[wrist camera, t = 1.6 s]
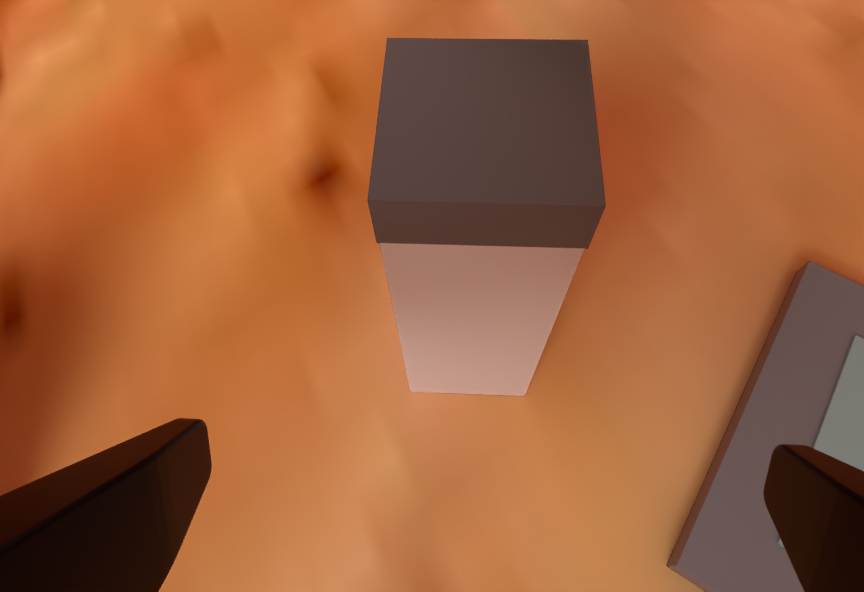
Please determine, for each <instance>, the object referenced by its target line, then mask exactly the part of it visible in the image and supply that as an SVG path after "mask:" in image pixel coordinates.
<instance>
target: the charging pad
mask: <svg viewBox="0 0 864 592" xmlns="http://www.w3.org/2000/svg"><path fill="white" fill-rule="evenodd" d="M780 444H796V445H806V446H809V447H812V448H814V449H816V450H818V451H820V452H823V453H825V454H827V455H829V456H831V457H834V458H836V459H838V460H840V461H842V462H845V463H847V464H849V465H851V466H853V467H855V468H858V469H860V470H862V471H864V286H863V285H861V284H858V283H856V282H854V281H852V280H850V279H848V278H846V277H843V276H841V275H839V274H837V273H835V272H833V271H830V270H828V269H826V268H824V267H822V266H820V265H818V264H815V263H813V262H811V261H809V262H807V263H806V264H805V265H804V266H803V267H802V268H801V269H800V270H798V271H797V272H796V275H795V277H794V279H793V281H792V284H791V286H790V288H789V290H788V293H787V295H786V297H785V299H784V302H783V304H782V306H781V309H780V311H779V313H778V315H777V318H776V320H775V322H774V324H773V327H772V329H771V331H770V333H769V336H768V338H767V340H766V342H765V345H764V347H763V349H762V351H761V354H760V356H759V358H758V360H757V363H756V365H755V367H754V370H753V372H752V374H751V376H750V379H749V381H748V383H747V385H746V388H745V390H744V392H743V394H742V397H741V399H740V401H739V403H738V406H737V408H736V410H735V412H734V415H733V417H732V419H731V422H730V424H729V426H728V428H727V431H726V433H725V435H724V437H723V440H722V442H721V444H720V446H719V449H718V451H717V453H716V455H715V458H714V460H713V462H712V464H711V467H710V469H709V471H708V474H707V476H706V478H705V480H704V483H703V485H702V487H701V489H700V492H699V494H698V496H697V498H696V501H695V503H694V505H693V507H692V510H691V512H690V514H689V516H688V519H687V521H686V523H685V526H684V528H683V530H682V532H681V535H680V537H679V539H678V541H677V544H676V546H675V548H674V550H673V553H672V555H671V557H670V559H669V562H668V564H667V567H669V568H670V569H672V570H674V571H675V572H677V573H678V574H680V575H681V576H683V577H684V578H686V579H687V580H689V581H690V582H692V583H693V584H695V585H697V586H698V587H700V588H701V589H703V590H704V591H706V592H804V590H803V588H802V586H801V584H800V582H799V580H798V577H797V575H796V573H795V571H794V568H793V566H792V564H791V562H790V559H789V557H788V555H787V553H786V550H785V548H784V546H783V544H782V541H781V539H780V537H779V535H778V532H777V530H776V528H775V526H774V523H773V521H772V519H771V517H770V514H769V512H768V510H767V507H766V505H765V501H764V495H763V490H764V485H765V480H766V476H767V472H768V468H769V464H770V459H771V455H772V452H773V450H774V448H775V447H776V446H778V445H780Z"/></svg>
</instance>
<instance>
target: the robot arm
mask: <svg viewBox="0 0 864 592" xmlns="http://www.w3.org/2000/svg"><path fill="white" fill-rule="evenodd" d="M211 465H212V464H211V455H210V447H209V439H208V431H207V426H206V424H205V422H204V421H203V420H201V419H187V418H179V419H175V420H173V421H171V422H168V423H166V424H164V425H161V426H159V427H157V428H155V429H152V430H150V431H148V432H145V433H143V434H141V435H139V436H136V437H134V438H132V439H129V440H127V441H125V442H122V443H120V444H118V445H116V446H113V447H111V448H109V449H106V450H104V451H102V452H100V453H97V454H95V455H93V456H90V457H88V458H86V459H84V460H81V461H79V462H77V463H74V464H72V465H70V466H67V467H65V468H63V469H61V470H58V471H56V472H54V473H51V474H49V475H47V476H45V477H42V478H40V479H38V480H35V481H33V482H31V483H29V484H26V485H24V486H22V487H19V488H17V489H15V490H13V491H10V492H8V493H6V494H3V495H1V496H0V592H158V591H159V589H160V588H161V586H162V584H163V582H164V580H165V578H166V577H167V575H168V573H169V571H170V569H171V567H172V565H173V563H174V561H175V559H176V556H177V554H178V552H179V550H180V547H181V545H182V543H183V540H184V538H185V536H186V533H187V531H188V528H189V526H190V524H191V521H192V519H193V516H194V514H195V512H196V509H197V507H198V504H199V502H200V500H201V497H202V495H203V492H204V490H205V488H206V485H207V483H208V480H209V478H210V474H211ZM763 495H764V501H765V505H766V507H767V510H768V512H769V514H770V517H771V519H772V521H773V523H774V526H775V528H776V530H777V532H778V535H779V537H780V539H781V541H782V544H783V546H784V548H785V550H786V553H787V555H788V557H789V559H790V562H791V564H792V566H793V568H794V571H795V573H796V575H797V577H798V580H799V582H800V584H801V586H802V588H803V590H804V592H864V471H862V470H860V469H858V468H855V467H853V466H851V465H849V464H847V463H845V462H842V461H840V460H838V459H836V458H834V457H831V456H829V455H827V454H825V453H823V452H820V451H818V450H816V449H814V448H812V447H809V446H806V445H796V444H780V445H778V446H776V447H775V448H774V450H773V452H772V455H771V459H770V464H769V468H768V472H767V476H766V480H765V485H764V490H763Z"/></svg>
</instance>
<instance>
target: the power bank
mask: <svg viewBox="0 0 864 592" xmlns="http://www.w3.org/2000/svg"><path fill="white" fill-rule="evenodd" d="M368 205H369V209H370V214H371V219H372V223H373V228H374V232H375V237H376V242H377V243H380V247H381V252H382V257H383V262H384V267H385V271H386V276H387V281H388V286H389V291H390V295H391V300H392V305H393V310H394V315H395V319H396V324H397V329H398V334H399V339H400V343H401V348H402V353H403V358H404V363H405V367H406V372H407V377H408V382H409V387H410V391H411V392H435V393H461V394H487V395H512V396H525V394H526V392H527V389H528V387H529V384H530V382H531V379H532V377H533V374H534V372H535V369H536V367H537V365H538V362H539V360H540V357H541V355H542V352H543V350H544V347H545V345H546V342H547V340H548V337H549V335H550V333H551V330H552V328H553V325H554V323H555V320H556V318H557V315H558V313H559V310H560V308H561V305H562V303H563V301H564V298H565V296H566V293H567V291H568V288H569V286H570V283H571V281H572V278H573V276H574V274H575V271H576V269H577V266H578V264H579V261H580V259H581V256H582V254H583V251H584V249H585V248H587V249H588V247H589V245H590V242H591V240H592V238H593V235H594V233H595V230H596V228H597V226H598V223H599V221H600V218H601V216H602V214H603V211H604V209H605V206H606V204H605V195H604V185H603V176H602V167H601V157H600V148H599V139H598V129H597V120H596V111H595V102H594V92H593V83H592V74H591V64H590V55H589V46H588V40H535V39H430V38H387V44H386V53H385V61H384V69H383V77H382V86H381V94H380V102H379V110H378V118H377V127H376V135H375V143H374V151H373V160H372V168H371V176H370V184H369V193H368Z"/></svg>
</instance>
